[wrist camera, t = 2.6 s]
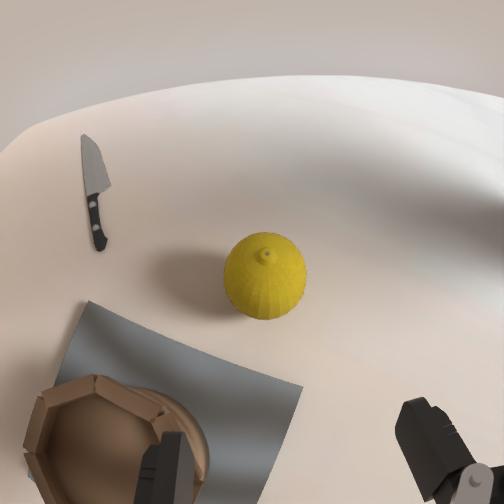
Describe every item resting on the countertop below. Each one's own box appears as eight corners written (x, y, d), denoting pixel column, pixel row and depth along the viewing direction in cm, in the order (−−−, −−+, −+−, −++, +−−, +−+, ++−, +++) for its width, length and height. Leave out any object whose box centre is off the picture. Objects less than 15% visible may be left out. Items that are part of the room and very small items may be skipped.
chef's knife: (102, 122, 35) (81, 130, 35) (99, 115, 34) (78, 124, 34) (127, 244, 28) (98, 255, 27) (123, 238, 27) (94, 250, 26)
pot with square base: (96, 305, 25) (39, 267, 17) (300, 386, 22) (324, 385, 14) (36, 474, 18) (-27, 486, 10) (220, 569, 15) (207, 627, 8)
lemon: (276, 342, 24) (285, 320, 16) (215, 305, 25) (197, 268, 18) (311, 283, 26) (331, 238, 18) (252, 250, 27) (250, 196, 20)
